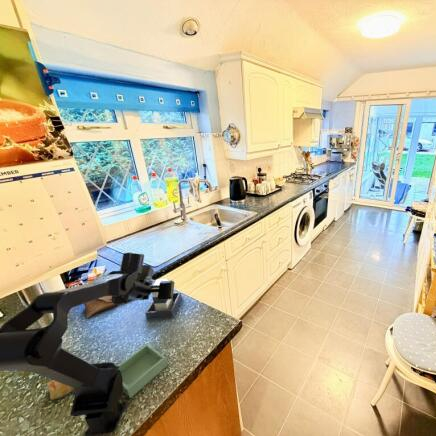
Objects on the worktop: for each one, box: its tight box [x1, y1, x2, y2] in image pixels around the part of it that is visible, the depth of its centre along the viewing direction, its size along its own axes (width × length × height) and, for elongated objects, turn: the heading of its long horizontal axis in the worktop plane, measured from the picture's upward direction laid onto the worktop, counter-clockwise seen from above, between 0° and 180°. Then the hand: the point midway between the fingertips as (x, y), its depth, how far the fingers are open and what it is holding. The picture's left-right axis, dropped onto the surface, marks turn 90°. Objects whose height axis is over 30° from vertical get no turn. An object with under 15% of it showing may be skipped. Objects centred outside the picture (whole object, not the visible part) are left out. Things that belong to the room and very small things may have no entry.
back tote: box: [144, 291, 183, 320], centre depth 96 cm, size 11×10×4 cm
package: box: [151, 278, 173, 311], centre depth 94 cm, size 6×5×12 cm
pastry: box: [46, 380, 74, 401], centre depth 68 cm, size 9×7×4 cm
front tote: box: [117, 343, 168, 399], centre depth 71 cm, size 11×10×4 cm
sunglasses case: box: [83, 296, 121, 318], centre depth 99 cm, size 18×7×7 cm, turn 133°
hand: (154, 294), depth 88 cm, fingers open, 9 cm apart
